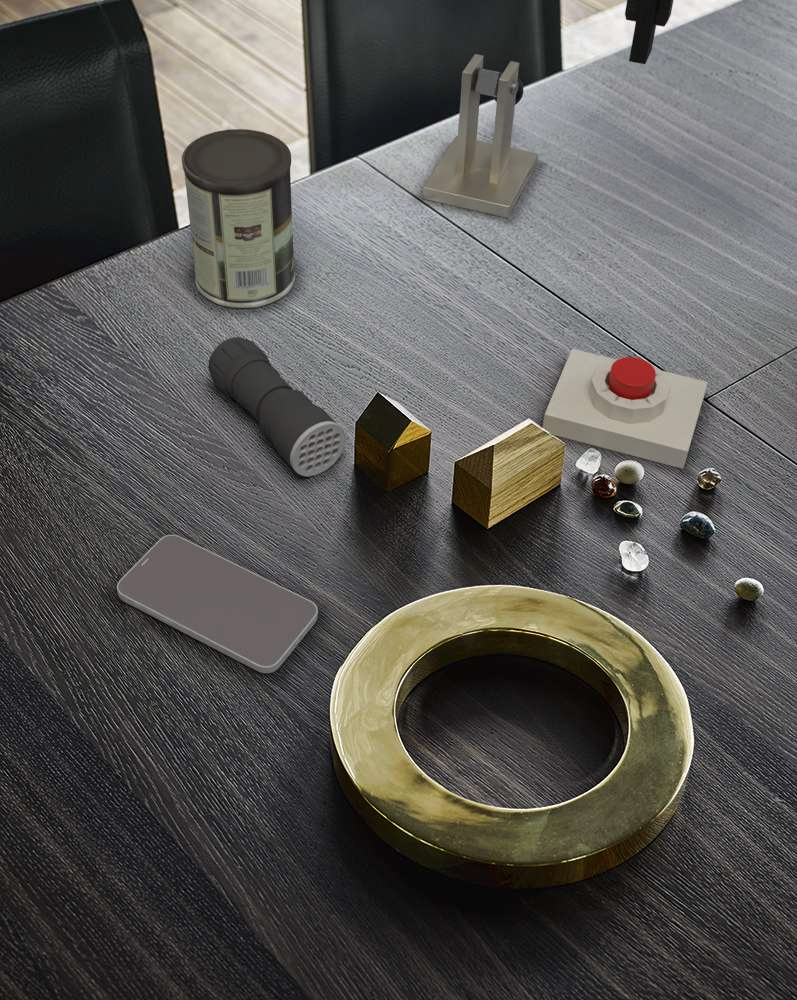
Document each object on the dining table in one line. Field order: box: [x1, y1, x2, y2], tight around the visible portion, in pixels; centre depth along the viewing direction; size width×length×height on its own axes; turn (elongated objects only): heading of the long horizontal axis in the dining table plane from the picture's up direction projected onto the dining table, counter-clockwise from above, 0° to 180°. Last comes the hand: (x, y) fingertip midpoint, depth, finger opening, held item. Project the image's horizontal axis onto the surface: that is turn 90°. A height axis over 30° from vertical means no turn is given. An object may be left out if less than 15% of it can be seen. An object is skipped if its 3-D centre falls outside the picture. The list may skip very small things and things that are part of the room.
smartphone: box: [116, 534, 319, 674], centre depth 98 cm, size 7×1×15 cm
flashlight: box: [208, 336, 347, 477], centre depth 111 cm, size 15×5×5 cm, turn 36°
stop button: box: [608, 356, 656, 400], centre depth 112 cm, size 4×4×2 cm
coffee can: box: [181, 128, 296, 309], centre depth 123 cm, size 10×10×14 cm
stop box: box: [542, 348, 709, 470], centre depth 114 cm, size 13×10×4 cm
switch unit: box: [422, 53, 539, 219], centre depth 138 cm, size 12×10×14 cm
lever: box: [475, 68, 525, 106], centre depth 139 cm, size 13×4×4 cm, turn 161°
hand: (640, 56), depth 113 cm, fingers closed
